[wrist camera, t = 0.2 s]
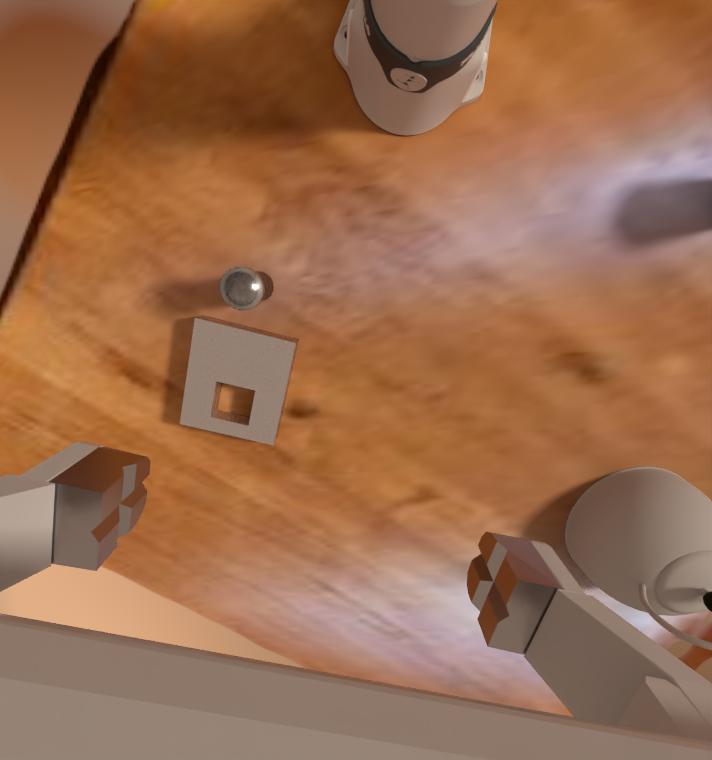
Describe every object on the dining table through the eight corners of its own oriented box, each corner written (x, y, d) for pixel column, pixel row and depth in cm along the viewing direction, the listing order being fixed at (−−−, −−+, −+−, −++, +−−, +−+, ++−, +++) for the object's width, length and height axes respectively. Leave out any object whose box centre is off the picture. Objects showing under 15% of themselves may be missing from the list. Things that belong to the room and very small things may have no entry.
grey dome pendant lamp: (716, 452, 61) (915, 551, 40) (707, 566, 68) (875, 705, 46) (562, 478, 62) (674, 588, 41) (566, 588, 69) (666, 734, 47)
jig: (203, 315, 54) (194, 317, 51) (298, 339, 55) (295, 343, 52) (188, 416, 58) (179, 424, 56) (277, 437, 60) (273, 445, 57)
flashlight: (244, 263, 52) (223, 261, 44) (280, 272, 53) (266, 273, 44) (238, 299, 54) (216, 304, 45) (273, 308, 54) (258, 314, 45)
